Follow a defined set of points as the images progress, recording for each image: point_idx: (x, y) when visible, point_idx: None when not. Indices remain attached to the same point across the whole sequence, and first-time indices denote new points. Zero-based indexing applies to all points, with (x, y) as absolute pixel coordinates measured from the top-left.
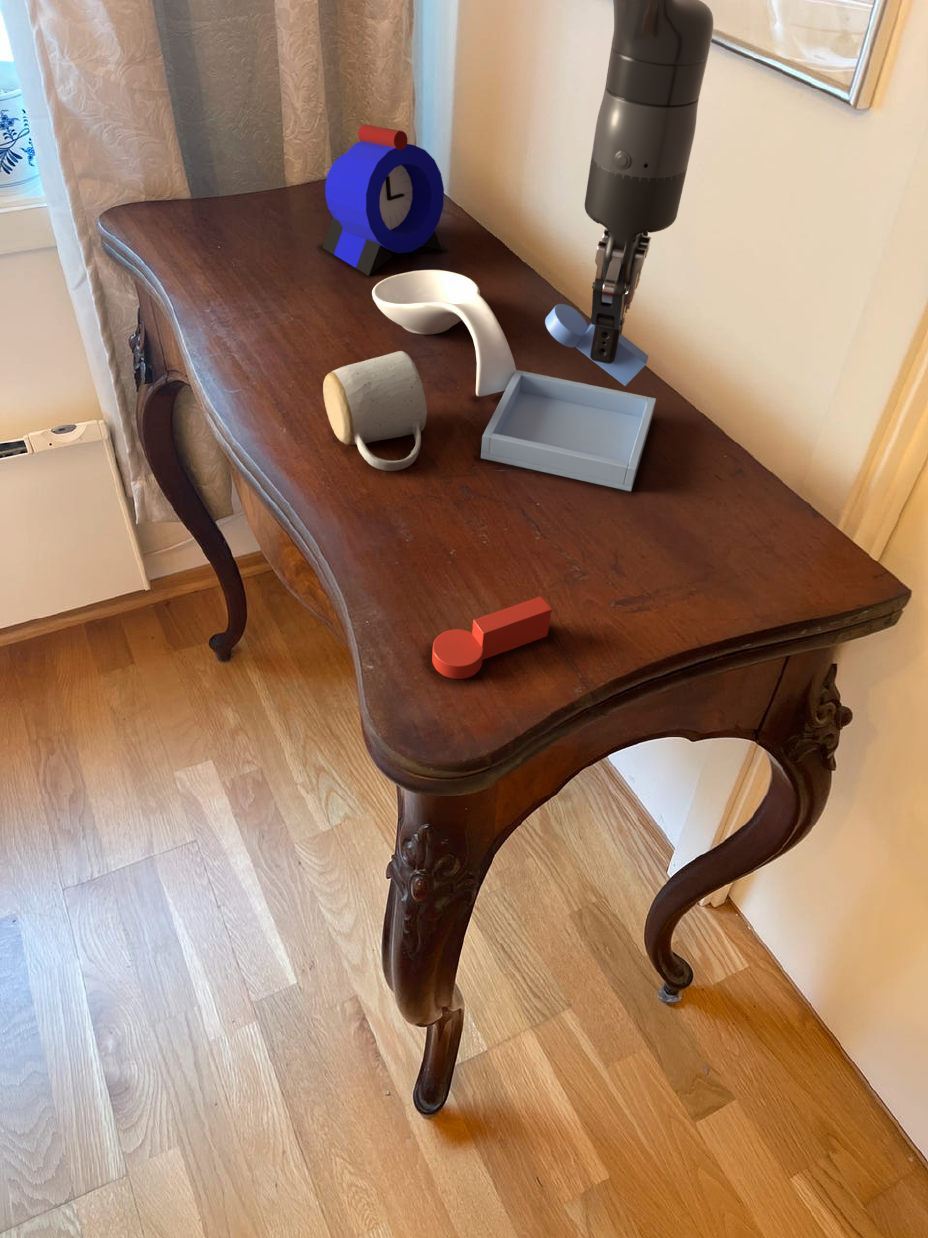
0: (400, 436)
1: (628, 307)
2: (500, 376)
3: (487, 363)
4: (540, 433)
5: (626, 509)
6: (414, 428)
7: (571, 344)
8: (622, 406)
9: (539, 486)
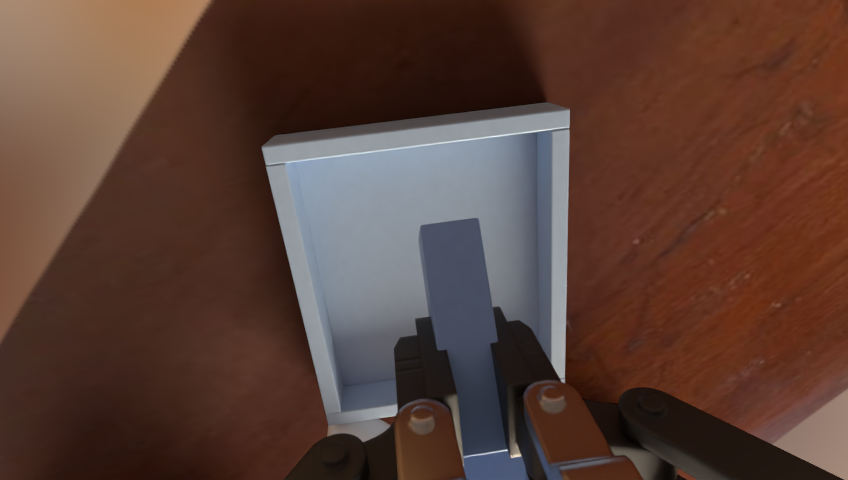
0: None
1: (434, 414)
2: (363, 435)
3: None
4: None
5: (604, 94)
6: None
7: None
8: (301, 208)
9: (588, 256)
